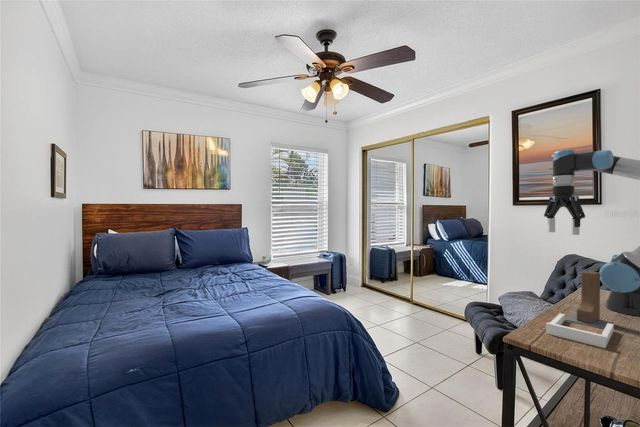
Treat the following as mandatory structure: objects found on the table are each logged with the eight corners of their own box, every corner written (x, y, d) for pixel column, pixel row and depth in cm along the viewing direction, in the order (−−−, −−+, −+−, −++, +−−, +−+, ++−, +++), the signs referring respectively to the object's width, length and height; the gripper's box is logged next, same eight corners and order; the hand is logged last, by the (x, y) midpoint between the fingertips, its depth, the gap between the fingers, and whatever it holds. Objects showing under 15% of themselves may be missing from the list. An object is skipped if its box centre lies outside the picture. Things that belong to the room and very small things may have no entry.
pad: (571, 313, 124) (571, 312, 124) (611, 322, 115) (611, 321, 115) (564, 320, 117) (564, 319, 117) (607, 329, 108) (607, 328, 108)
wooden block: (591, 324, 112) (592, 275, 112) (576, 320, 116) (576, 273, 115) (599, 319, 117) (600, 272, 117) (584, 316, 121) (585, 270, 120)
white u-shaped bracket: (559, 319, 118) (559, 310, 118) (613, 331, 107) (613, 321, 106) (546, 333, 105) (546, 323, 105) (605, 348, 94) (605, 337, 94)
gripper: (535, 187, 148) (535, 231, 148) (578, 183, 123) (577, 236, 123) (551, 187, 148) (550, 231, 148) (597, 183, 123) (596, 236, 123)
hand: (562, 233), depth 136 cm, fingers open, 13 cm apart
